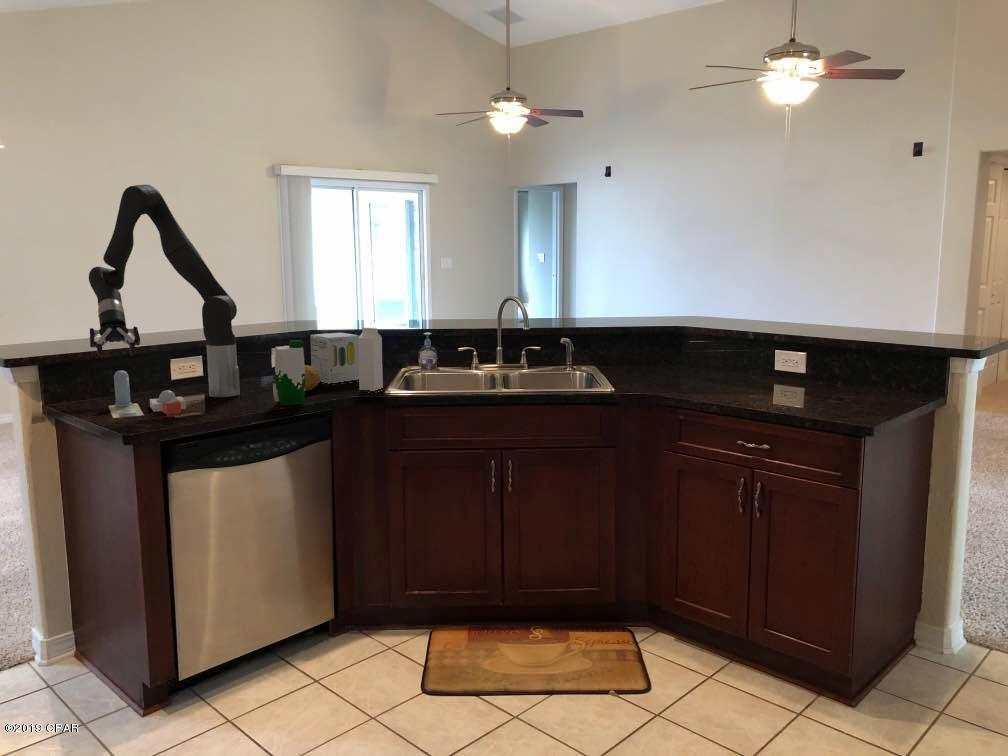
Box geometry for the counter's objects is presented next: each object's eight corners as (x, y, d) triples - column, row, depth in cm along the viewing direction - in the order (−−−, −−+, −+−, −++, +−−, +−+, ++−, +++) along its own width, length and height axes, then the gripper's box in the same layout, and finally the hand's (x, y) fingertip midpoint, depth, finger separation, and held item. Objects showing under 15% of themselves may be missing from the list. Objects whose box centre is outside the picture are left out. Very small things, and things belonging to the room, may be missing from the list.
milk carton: (307, 404, 241) (305, 341, 238) (277, 406, 238) (274, 342, 235) (304, 399, 249) (302, 338, 246) (275, 401, 246) (272, 339, 243)
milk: (374, 393, 262) (373, 329, 258) (359, 391, 264) (357, 328, 260) (383, 390, 267) (381, 327, 264) (367, 388, 269) (366, 326, 266)
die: (176, 413, 227) (176, 399, 226) (181, 415, 224) (180, 401, 223) (162, 414, 224) (162, 401, 224) (167, 417, 222) (166, 403, 221)
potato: (278, 392, 261) (277, 365, 259) (309, 387, 271) (308, 361, 270) (295, 396, 255) (294, 368, 254) (327, 390, 266) (326, 364, 264)
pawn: (131, 403, 236) (128, 368, 234) (132, 406, 232) (129, 370, 231) (114, 405, 234) (111, 370, 232) (115, 407, 230) (112, 372, 228)
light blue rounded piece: (175, 406, 235) (174, 388, 234) (178, 408, 231) (177, 391, 230) (158, 407, 232) (156, 389, 231) (160, 410, 228) (159, 392, 227)
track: (137, 405, 237) (137, 403, 237) (144, 417, 220) (144, 415, 220) (108, 408, 233) (108, 405, 233) (113, 420, 216) (113, 417, 216)
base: (181, 406, 238) (181, 396, 237) (186, 411, 230) (185, 401, 229) (150, 408, 233) (149, 399, 233) (153, 414, 225) (153, 404, 225)
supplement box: (328, 385, 276) (327, 337, 273) (311, 380, 286) (309, 334, 283) (360, 381, 285) (359, 335, 282) (342, 377, 295) (341, 332, 292)
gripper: (86, 309, 241) (91, 348, 234) (136, 307, 249) (142, 346, 241) (87, 324, 247) (91, 363, 239) (135, 322, 254) (141, 360, 246)
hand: (117, 355), depth 240 cm, fingers open, 8 cm apart
